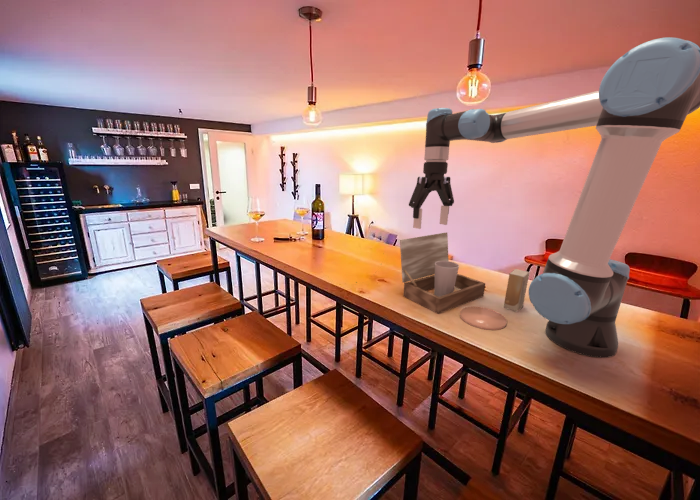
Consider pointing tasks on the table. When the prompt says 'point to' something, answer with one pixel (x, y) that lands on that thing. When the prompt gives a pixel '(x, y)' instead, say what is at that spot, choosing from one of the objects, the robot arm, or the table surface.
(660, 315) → the table surface
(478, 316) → the saucer
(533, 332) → the table surface
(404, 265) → the hinged wooden box
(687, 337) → the table surface
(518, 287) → the skincare box
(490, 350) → the table surface
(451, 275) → the cup
